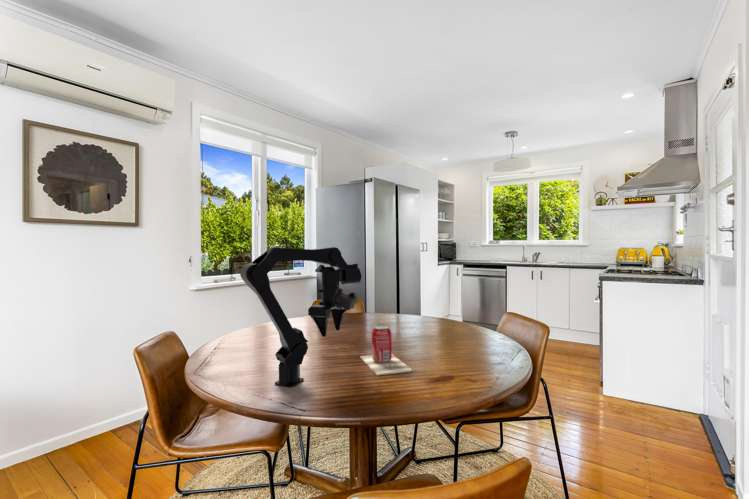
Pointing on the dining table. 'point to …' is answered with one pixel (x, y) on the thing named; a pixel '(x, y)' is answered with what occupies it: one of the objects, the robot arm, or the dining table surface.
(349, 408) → the dining table surface
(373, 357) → the soda can
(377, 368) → the board
